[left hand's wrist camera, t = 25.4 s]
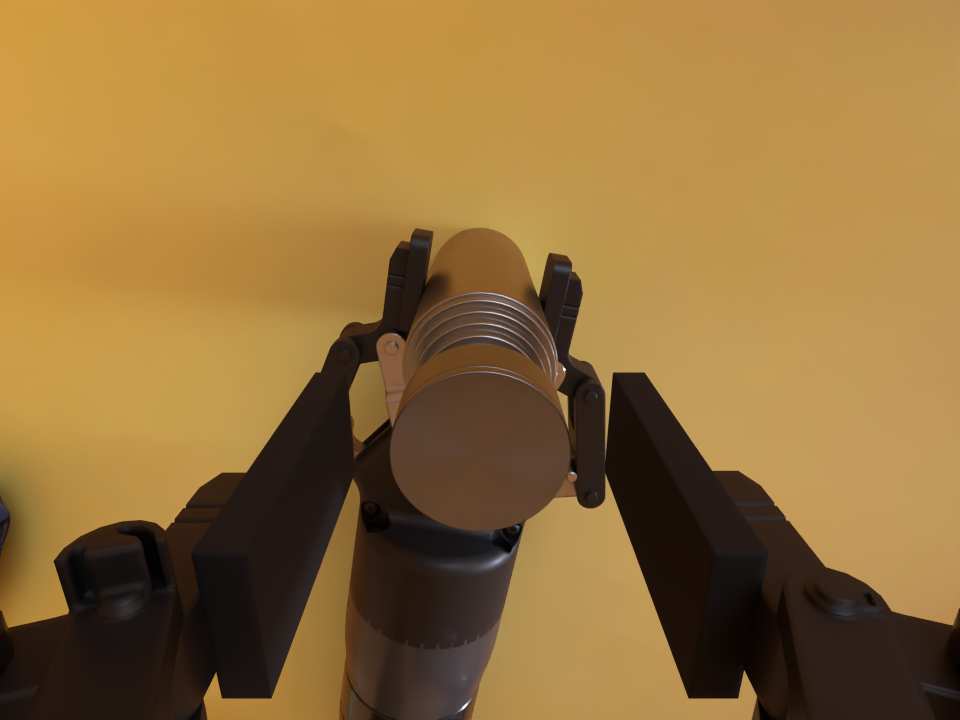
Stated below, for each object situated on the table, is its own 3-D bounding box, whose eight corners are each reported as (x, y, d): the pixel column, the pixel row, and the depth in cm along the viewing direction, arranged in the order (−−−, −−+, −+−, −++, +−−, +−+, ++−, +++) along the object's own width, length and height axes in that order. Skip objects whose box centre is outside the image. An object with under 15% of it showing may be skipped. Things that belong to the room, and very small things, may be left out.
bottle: (469, 338, 31) (459, 554, 15) (413, 265, 30) (336, 417, 14) (545, 286, 30) (619, 458, 14) (490, 208, 29) (504, 301, 13)
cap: (460, 514, 16) (458, 559, 14) (365, 400, 15) (351, 435, 13) (591, 437, 15) (605, 475, 13) (501, 310, 14) (504, 335, 12)
